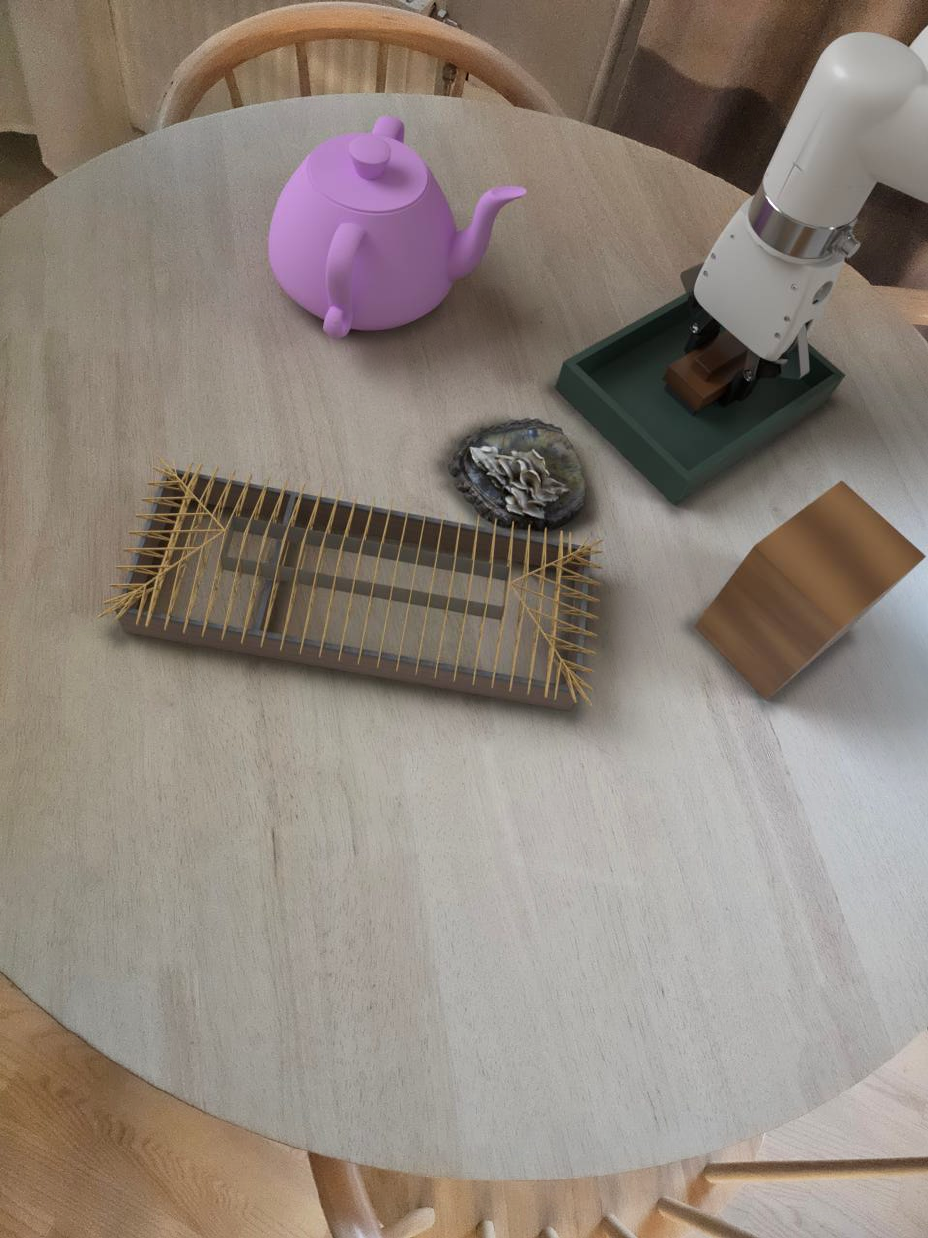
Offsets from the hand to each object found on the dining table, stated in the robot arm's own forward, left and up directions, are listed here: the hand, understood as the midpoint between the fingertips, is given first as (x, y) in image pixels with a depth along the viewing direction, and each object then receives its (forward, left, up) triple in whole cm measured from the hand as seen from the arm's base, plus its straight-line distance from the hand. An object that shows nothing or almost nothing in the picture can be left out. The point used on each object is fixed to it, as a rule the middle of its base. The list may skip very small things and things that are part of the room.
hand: (713, 378), depth 88 cm
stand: (+15, +21, -1) cm, 26 cm away
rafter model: (+40, 0, -1) cm, 40 cm away
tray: (+2, 0, -1) cm, 2 cm away
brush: (0, 0, 0) cm, 0 cm away
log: (+22, -2, -1) cm, 22 cm away
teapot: (+18, -26, -1) cm, 32 cm away
